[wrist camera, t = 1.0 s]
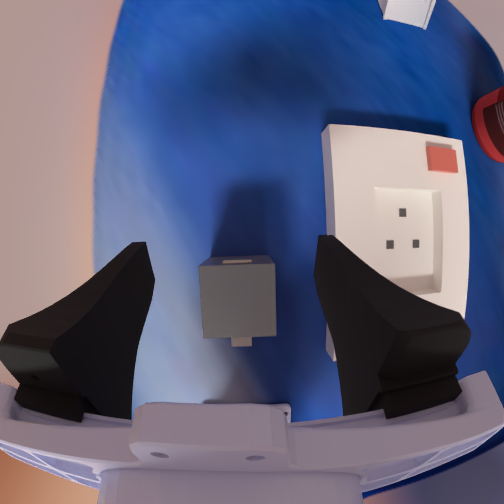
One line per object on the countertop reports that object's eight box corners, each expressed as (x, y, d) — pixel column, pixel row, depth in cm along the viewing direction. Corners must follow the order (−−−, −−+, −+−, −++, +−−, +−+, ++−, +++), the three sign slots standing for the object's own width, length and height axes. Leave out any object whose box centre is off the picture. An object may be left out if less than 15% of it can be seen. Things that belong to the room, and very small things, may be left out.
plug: (269, 334, 25) (276, 364, 19) (214, 335, 25) (206, 366, 19) (267, 253, 24) (275, 262, 18) (210, 256, 24) (198, 264, 18)
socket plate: (447, 331, 25) (465, 340, 22) (325, 349, 25) (335, 364, 22) (446, 146, 24) (465, 139, 21) (321, 133, 23) (330, 121, 20)
